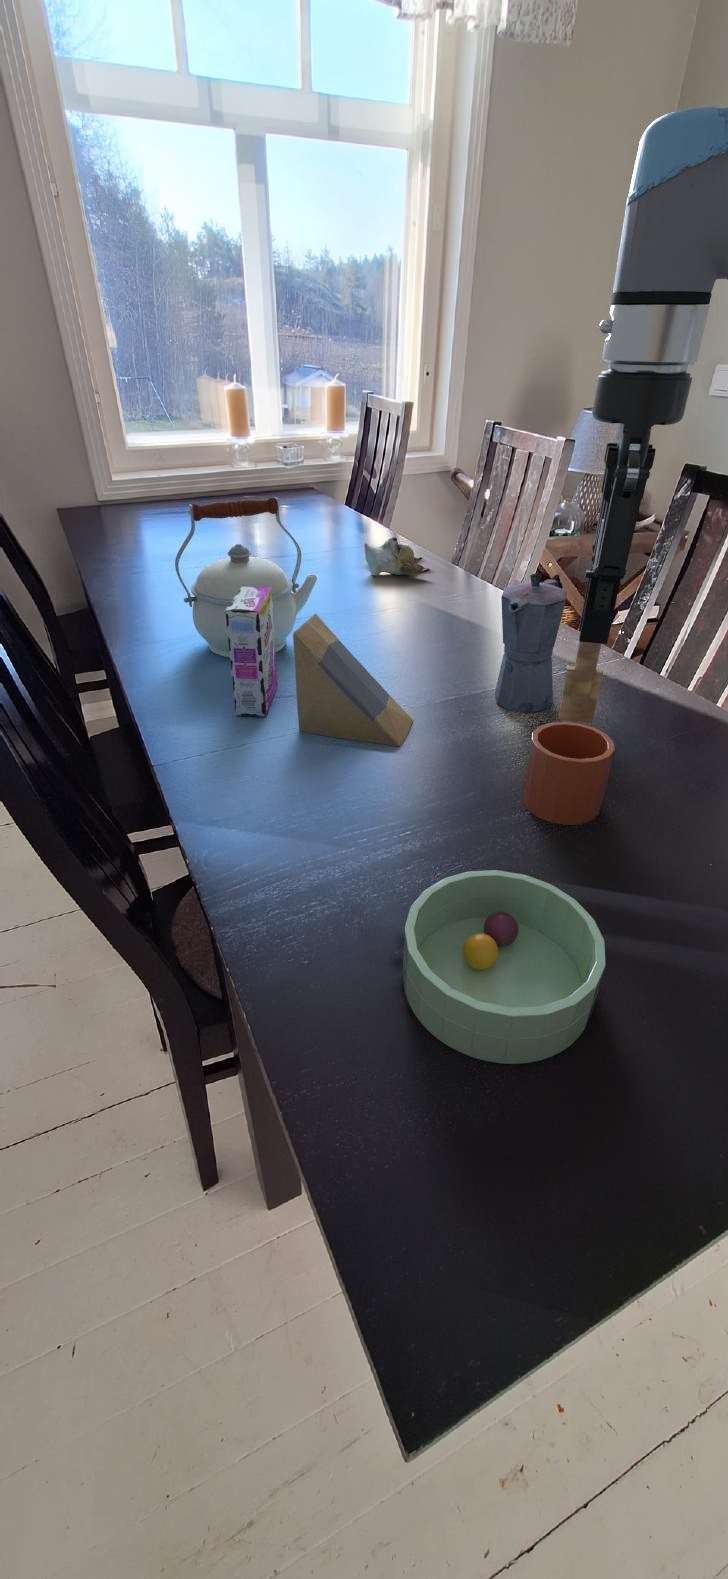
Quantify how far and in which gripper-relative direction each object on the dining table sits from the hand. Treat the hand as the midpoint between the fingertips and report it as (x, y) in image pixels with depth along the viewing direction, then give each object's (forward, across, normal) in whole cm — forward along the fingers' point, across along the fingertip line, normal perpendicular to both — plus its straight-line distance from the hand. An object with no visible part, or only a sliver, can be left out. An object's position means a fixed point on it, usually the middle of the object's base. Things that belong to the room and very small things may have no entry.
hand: (592, 635), depth 71 cm
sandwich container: (+23, -15, -29) cm, 40 cm away
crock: (+22, 0, 0) cm, 22 cm away
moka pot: (+23, -30, -6) cm, 38 cm away
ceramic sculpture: (+23, -89, -39) cm, 100 cm away
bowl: (+22, +28, -5) cm, 36 cm away
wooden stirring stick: (+10, 0, 0) cm, 10 cm away
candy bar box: (+23, -19, -46) cm, 55 cm away
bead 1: (+20, +27, -7) cm, 34 cm away
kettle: (+23, -41, -55) cm, 72 cm away
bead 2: (+20, +24, -5) cm, 31 cm away
